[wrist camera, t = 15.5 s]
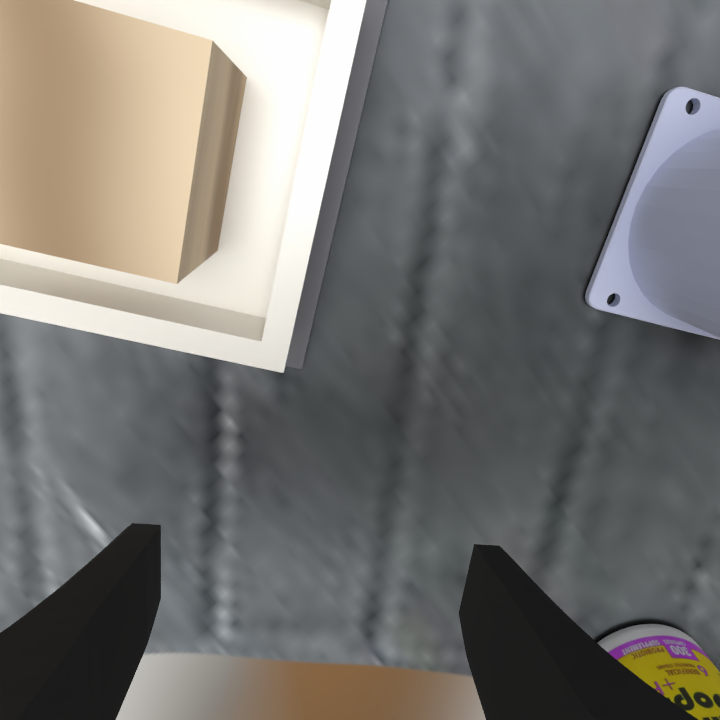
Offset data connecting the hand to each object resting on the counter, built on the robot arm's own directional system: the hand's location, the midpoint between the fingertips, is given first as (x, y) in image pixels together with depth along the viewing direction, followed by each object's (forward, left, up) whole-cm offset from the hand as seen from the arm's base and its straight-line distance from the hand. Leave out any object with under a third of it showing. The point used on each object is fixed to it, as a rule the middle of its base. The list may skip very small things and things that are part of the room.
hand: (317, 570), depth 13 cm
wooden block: (+7, -8, -7) cm, 13 cm away
